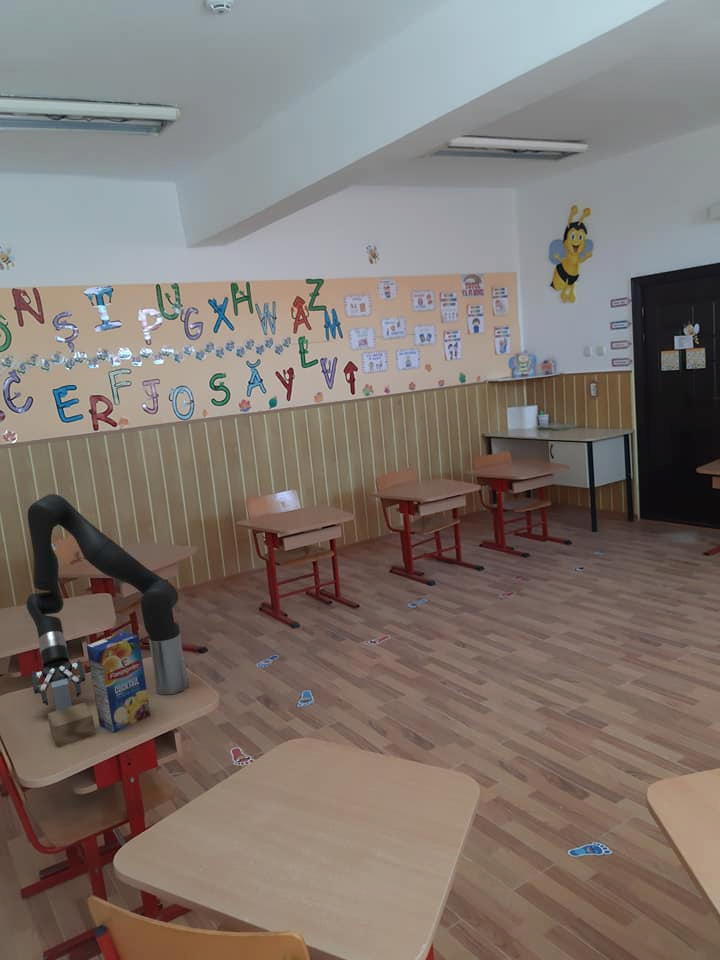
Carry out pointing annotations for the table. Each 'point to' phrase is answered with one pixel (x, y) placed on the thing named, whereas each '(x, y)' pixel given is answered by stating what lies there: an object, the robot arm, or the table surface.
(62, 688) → the slate column
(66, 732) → the walnut block
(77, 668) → the robot arm
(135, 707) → the juice carton
